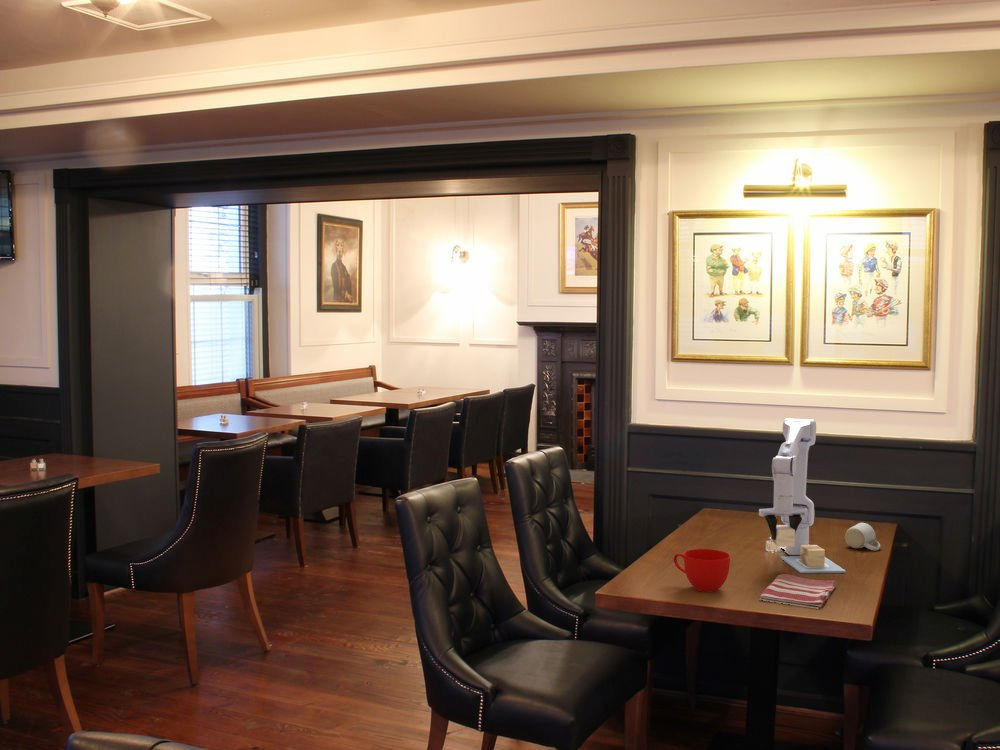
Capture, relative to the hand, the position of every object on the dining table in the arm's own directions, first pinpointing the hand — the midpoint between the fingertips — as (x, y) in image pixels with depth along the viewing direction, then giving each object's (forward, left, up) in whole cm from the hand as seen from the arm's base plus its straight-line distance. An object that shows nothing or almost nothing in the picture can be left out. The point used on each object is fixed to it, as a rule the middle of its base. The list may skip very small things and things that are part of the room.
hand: (782, 539), depth 291 cm
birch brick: (0, 0, -1) cm, 1 cm away
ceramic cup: (+18, -30, -10) cm, 36 cm away
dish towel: (+25, -4, -10) cm, 27 cm away
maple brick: (-4, +11, -9) cm, 14 cm away
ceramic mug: (-25, +36, -10) cm, 45 cm away
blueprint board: (-4, +11, -9) cm, 15 cm away
